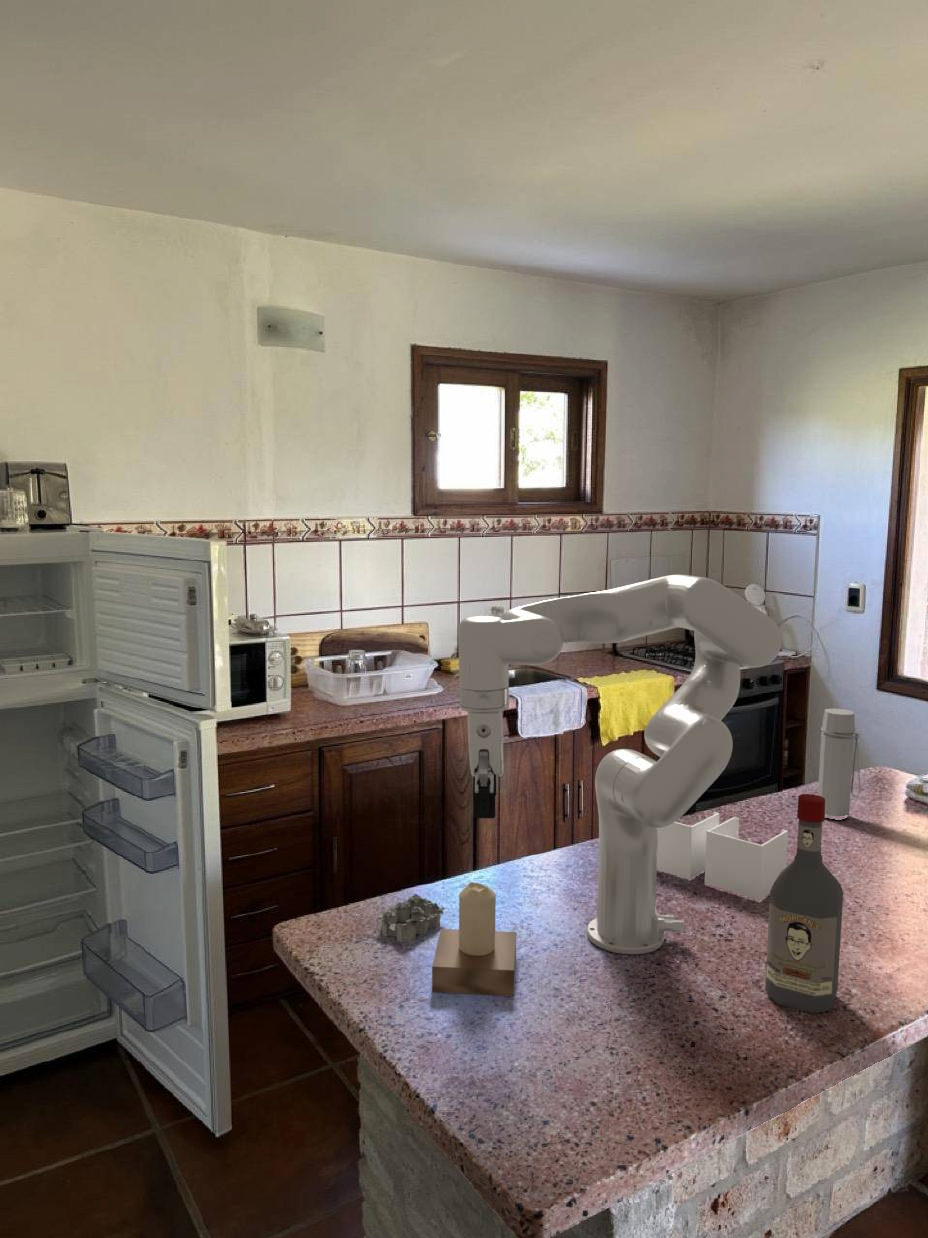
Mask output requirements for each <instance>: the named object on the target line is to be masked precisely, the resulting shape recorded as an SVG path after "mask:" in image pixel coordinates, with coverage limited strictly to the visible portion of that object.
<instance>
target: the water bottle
mask: <svg viewBox="0 0 928 1238" xmlns="http://www.w3.org/2000/svg"><path fill="white" fill-rule="evenodd" d="M855 716H856V715H855V711H852V710H850V709H844V708H826V709H824V712H823V717H822V718H823V719H822V724H821V727H820V730H821V731H820V732H821V735H820V751H819V753H820V754H819V768H818V769H819V770H818V784H817V785H818V788H817V795H818V796H821V797H823V798H825V814H827V815H833V816H845V815H849V816H850V808H851V796H852V797H853V798H856V799H857V798H858V799H859V796H860V793H861V778H860V762H859V759H860V758H859V748H858V746H859V745H858V740H859V737H860V733H858V732H856V721H855V719H856V717H855ZM854 741H855V743H854ZM854 746H855V747H854ZM856 759H857V776H858V777H857V778H858V779H857V781H858V789H857V794H856V795H854V793H853V791H854V790H853V789H854V780H855V779H854V777H855V766H856Z"/></svg>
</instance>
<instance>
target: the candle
mask: <svg viewBox="0 0 928 1238" xmlns="http://www.w3.org/2000/svg"><path fill="white" fill-rule="evenodd" d="M458 894H459V896H458V897H459V898H458V899H459V900H458V902H459V903H458V904H459V905H458V916H459V917H458V930H459V948H460V950H461V952H463V953H465V954H467V955H471V956H484V955H488V954H490V953H492V952H493V951H494V948H495V931H496V900H497V899H496V892H495V891H493V889H492V888H491V887H489V886H487V885H484V884H482V883H480V882H473V881H471V882H469V883H468V884H466V886H465V887H464V888H463V889H461V891H460V892H459V893H458Z"/></svg>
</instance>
